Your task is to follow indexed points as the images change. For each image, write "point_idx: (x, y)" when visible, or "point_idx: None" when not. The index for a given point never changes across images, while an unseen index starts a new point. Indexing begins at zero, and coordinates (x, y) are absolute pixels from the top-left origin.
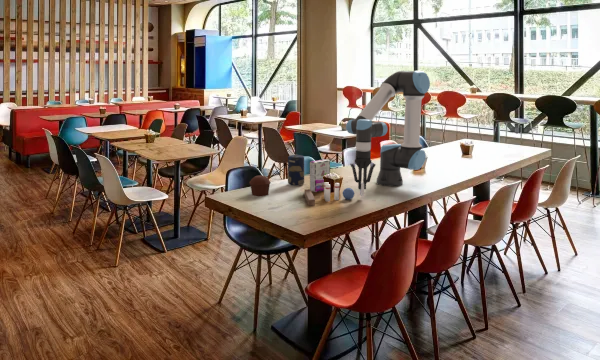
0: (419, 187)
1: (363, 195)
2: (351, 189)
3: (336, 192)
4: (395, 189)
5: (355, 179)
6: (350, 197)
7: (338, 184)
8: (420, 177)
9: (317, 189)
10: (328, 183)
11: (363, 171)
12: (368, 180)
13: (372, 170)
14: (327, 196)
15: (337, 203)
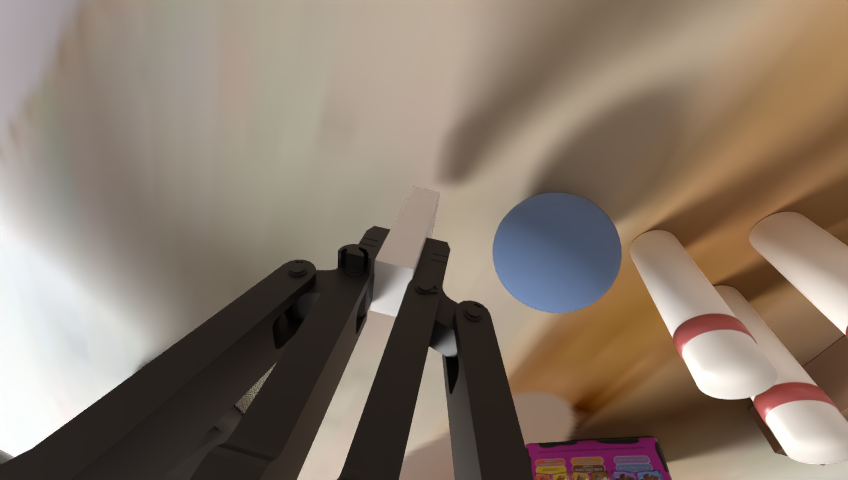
0: (45, 318)
1: (414, 189)
2: (539, 257)
3: (705, 280)
4: (163, 328)
5: (494, 340)
6: (557, 192)
7: (732, 349)
8: None
9: (640, 452)
10: (811, 422)
11: (305, 457)
12: (298, 275)
13: (104, 404)
14: (843, 243)
15: (768, 108)
